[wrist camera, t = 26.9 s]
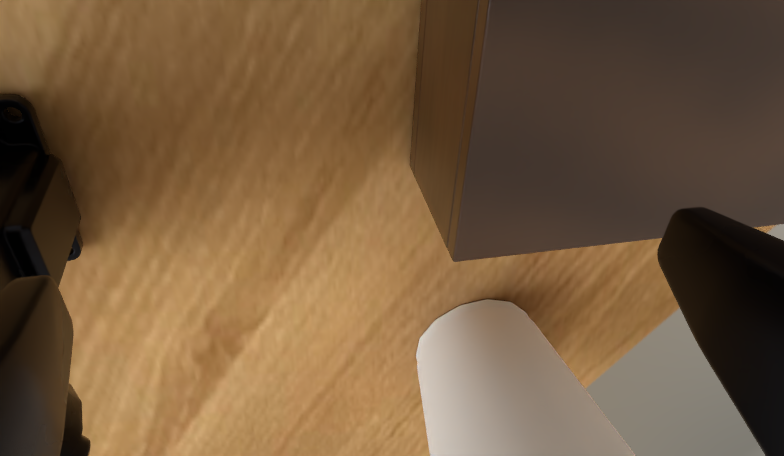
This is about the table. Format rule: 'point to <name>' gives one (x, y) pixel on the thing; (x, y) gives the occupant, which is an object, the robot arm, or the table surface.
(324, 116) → the table surface
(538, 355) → the foam cup
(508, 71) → the cabinet
